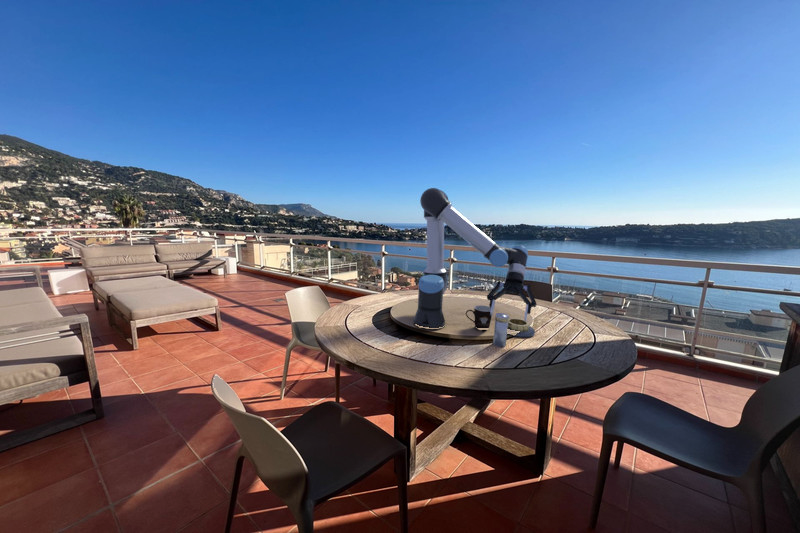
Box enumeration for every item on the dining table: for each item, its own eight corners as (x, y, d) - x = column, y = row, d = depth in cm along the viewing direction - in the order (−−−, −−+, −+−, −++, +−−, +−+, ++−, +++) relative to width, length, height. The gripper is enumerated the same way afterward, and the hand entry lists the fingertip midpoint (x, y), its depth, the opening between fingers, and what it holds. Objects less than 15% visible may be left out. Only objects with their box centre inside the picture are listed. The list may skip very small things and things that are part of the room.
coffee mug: (493, 327, 140) (495, 307, 138) (488, 333, 132) (490, 312, 131) (470, 322, 146) (471, 303, 144) (463, 327, 139) (465, 307, 137)
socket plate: (493, 326, 140) (494, 318, 140) (517, 323, 146) (518, 314, 145) (516, 339, 127) (517, 330, 126) (541, 335, 132) (543, 325, 132)
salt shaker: (490, 342, 123) (492, 313, 121) (500, 341, 125) (502, 312, 123) (498, 348, 118) (501, 318, 116) (508, 346, 120) (511, 316, 118)
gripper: (545, 283, 130) (539, 326, 120) (488, 276, 142) (479, 315, 131) (546, 274, 125) (540, 318, 114) (486, 267, 136) (477, 307, 126)
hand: (507, 317), depth 123 cm, fingers open, 13 cm apart
